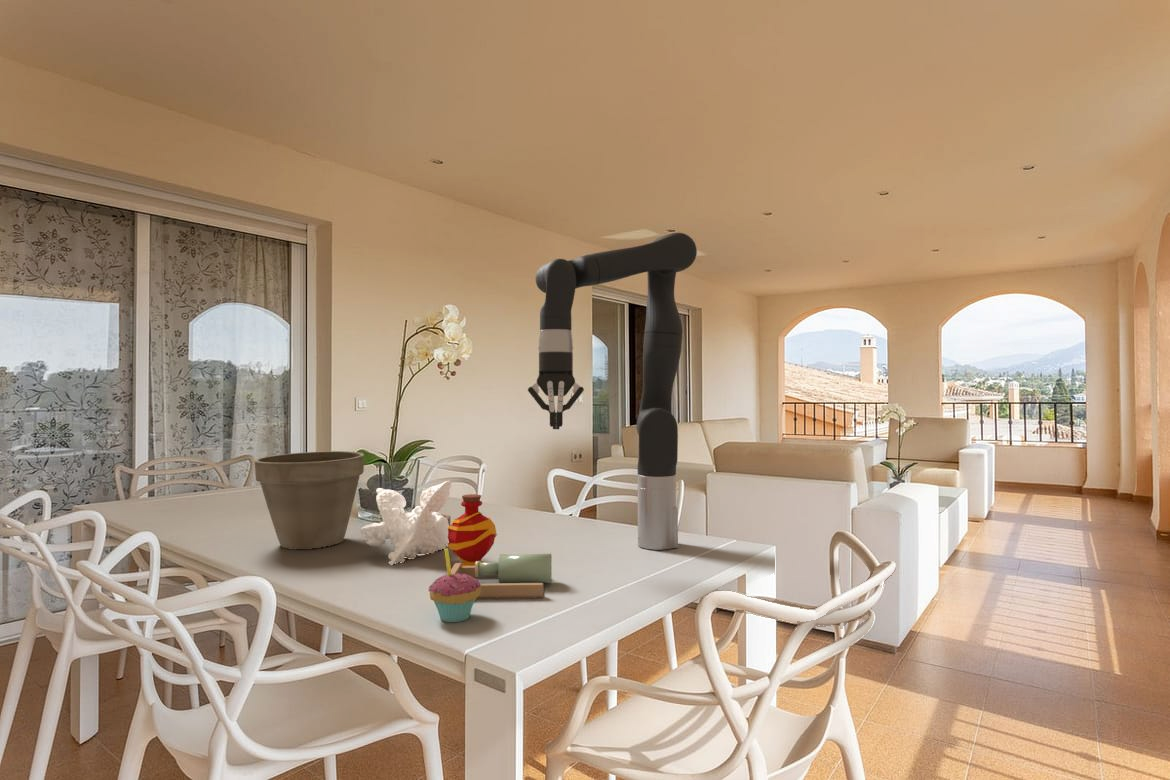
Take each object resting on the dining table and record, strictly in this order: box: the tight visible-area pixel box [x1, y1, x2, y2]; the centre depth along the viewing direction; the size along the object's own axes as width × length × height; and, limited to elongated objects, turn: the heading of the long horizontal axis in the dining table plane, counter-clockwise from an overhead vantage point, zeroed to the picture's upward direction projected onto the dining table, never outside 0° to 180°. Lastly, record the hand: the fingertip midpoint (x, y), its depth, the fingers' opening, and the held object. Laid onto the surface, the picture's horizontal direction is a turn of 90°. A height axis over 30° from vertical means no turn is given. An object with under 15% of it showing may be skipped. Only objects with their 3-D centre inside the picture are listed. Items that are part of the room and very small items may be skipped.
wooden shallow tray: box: [451, 562, 546, 600], centre depth 124 cm, size 18×13×3 cm
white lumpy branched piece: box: [359, 480, 452, 565], centre depth 150 cm, size 19×20×20 cm
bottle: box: [475, 553, 553, 584], centre depth 126 cm, size 5×5×15 cm
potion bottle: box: [447, 493, 498, 566], centre depth 140 cm, size 10×10×15 cm
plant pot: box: [253, 450, 365, 550], centre depth 161 cm, size 25×25×22 cm
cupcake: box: [428, 544, 482, 623], centre depth 108 cm, size 9×8×12 cm
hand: (556, 429), depth 144 cm, fingers closed
